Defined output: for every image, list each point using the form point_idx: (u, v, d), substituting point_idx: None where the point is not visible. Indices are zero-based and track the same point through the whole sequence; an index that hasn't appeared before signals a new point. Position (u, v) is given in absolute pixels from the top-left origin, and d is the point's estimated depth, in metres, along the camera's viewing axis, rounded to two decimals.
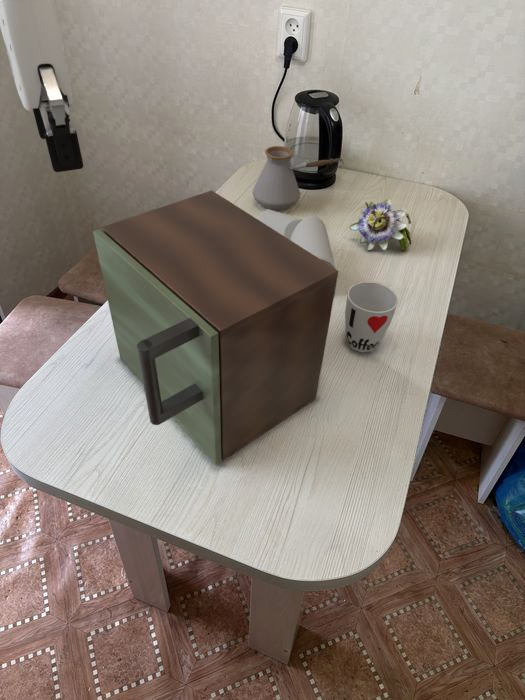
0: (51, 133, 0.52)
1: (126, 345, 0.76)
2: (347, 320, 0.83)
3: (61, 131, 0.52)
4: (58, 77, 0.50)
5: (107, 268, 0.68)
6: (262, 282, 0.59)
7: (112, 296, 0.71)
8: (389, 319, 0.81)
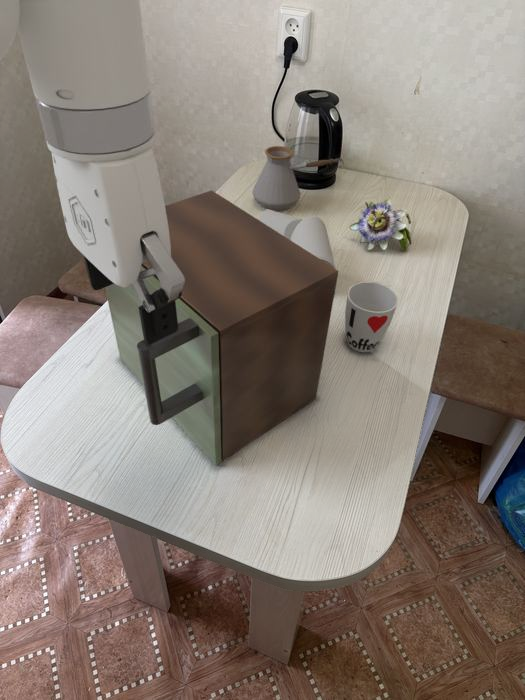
0: (153, 308, 0.40)
1: (126, 345, 0.76)
2: (347, 320, 0.83)
3: (166, 304, 0.41)
4: (161, 243, 0.39)
5: None
6: (262, 282, 0.59)
7: (112, 296, 0.71)
8: (389, 319, 0.81)
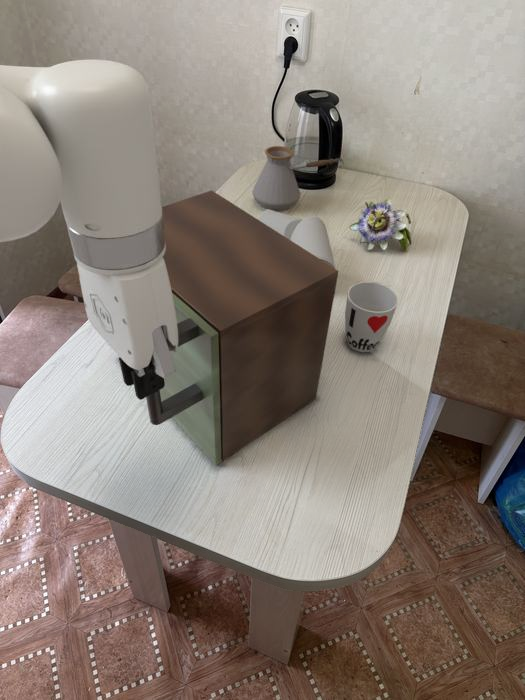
0: (143, 373, 0.49)
1: None
2: (347, 320, 0.83)
3: None
4: (170, 333, 0.45)
5: None
6: (262, 282, 0.59)
7: None
8: (389, 319, 0.81)
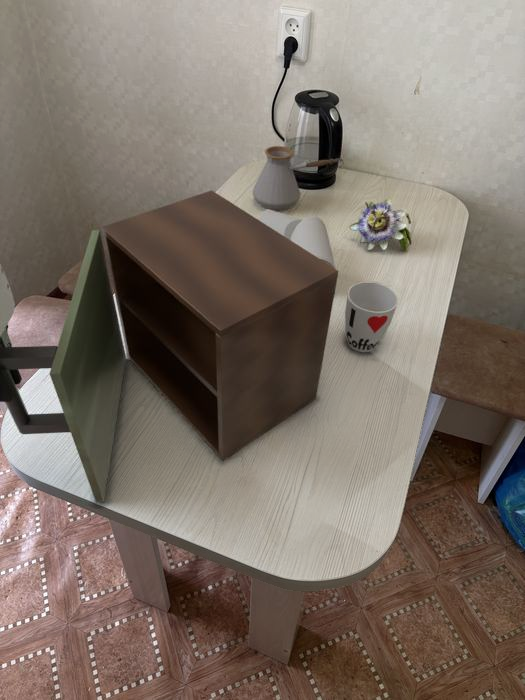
0: None
1: None
2: (347, 320, 0.83)
3: None
4: None
5: None
6: (262, 282, 0.59)
7: None
8: (389, 319, 0.81)
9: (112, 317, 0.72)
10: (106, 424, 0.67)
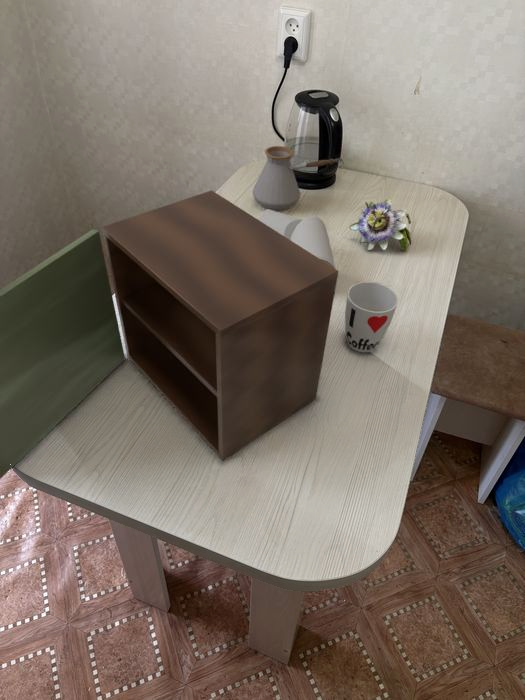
0: None
1: None
2: (347, 320, 0.83)
3: None
4: None
5: None
6: (262, 282, 0.59)
7: None
8: (389, 319, 0.81)
9: (100, 316, 0.72)
10: (36, 412, 0.67)
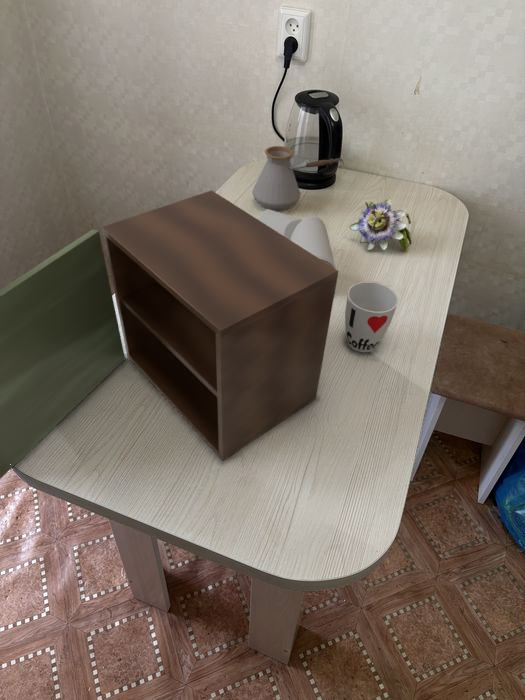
0: None
1: None
2: (347, 320, 0.83)
3: None
4: None
5: None
6: (262, 282, 0.59)
7: None
8: (389, 319, 0.81)
9: (100, 316, 0.72)
10: (36, 412, 0.67)
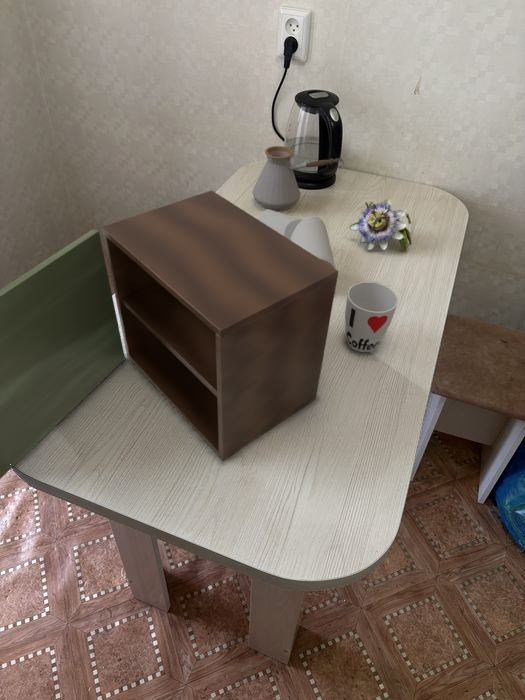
0: None
1: None
2: (347, 320, 0.83)
3: None
4: None
5: None
6: (262, 282, 0.59)
7: None
8: (389, 319, 0.81)
9: (100, 316, 0.72)
10: (36, 412, 0.67)
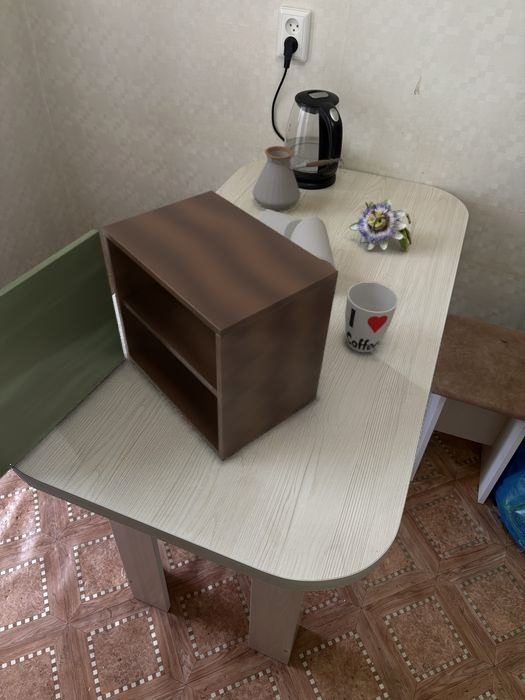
0: None
1: None
2: (347, 320, 0.83)
3: None
4: None
5: None
6: (262, 282, 0.59)
7: None
8: (389, 319, 0.81)
9: (100, 316, 0.72)
10: (36, 412, 0.67)
